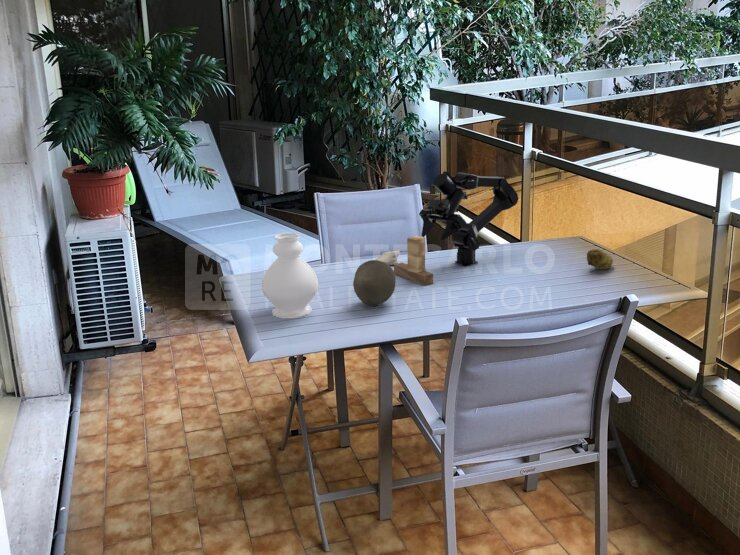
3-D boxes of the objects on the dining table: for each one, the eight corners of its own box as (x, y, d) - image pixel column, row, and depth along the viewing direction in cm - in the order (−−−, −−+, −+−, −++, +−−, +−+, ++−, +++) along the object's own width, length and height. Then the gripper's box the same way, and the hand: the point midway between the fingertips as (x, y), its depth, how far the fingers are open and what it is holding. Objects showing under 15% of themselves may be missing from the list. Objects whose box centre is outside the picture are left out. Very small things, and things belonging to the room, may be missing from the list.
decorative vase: (272, 325, 225) (267, 246, 217) (257, 307, 241) (251, 233, 233) (327, 315, 232) (324, 238, 224) (309, 299, 247) (305, 226, 240)
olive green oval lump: (621, 269, 270) (623, 247, 267) (594, 274, 265) (596, 253, 262) (605, 263, 277) (607, 242, 274) (578, 268, 272) (580, 247, 269)
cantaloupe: (345, 303, 242) (343, 259, 238) (382, 295, 249) (381, 252, 244) (366, 316, 230) (365, 270, 226) (405, 307, 237) (404, 263, 232)
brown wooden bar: (402, 271, 274) (402, 262, 273) (433, 283, 260) (433, 273, 259) (393, 273, 272) (393, 264, 271) (424, 285, 257) (424, 276, 256)
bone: (384, 249, 287) (387, 263, 288) (353, 269, 271) (357, 283, 273) (399, 248, 282) (403, 261, 284) (369, 268, 267) (373, 282, 268)
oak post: (415, 267, 266) (415, 235, 262) (425, 270, 263) (425, 237, 259) (407, 270, 263) (407, 237, 259) (416, 273, 260) (416, 239, 256)
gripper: (421, 187, 270) (401, 222, 267) (459, 192, 257) (439, 229, 253) (436, 204, 278) (417, 239, 274) (475, 210, 264) (455, 246, 261)
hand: (431, 238), depth 265 cm, fingers open, 9 cm apart
